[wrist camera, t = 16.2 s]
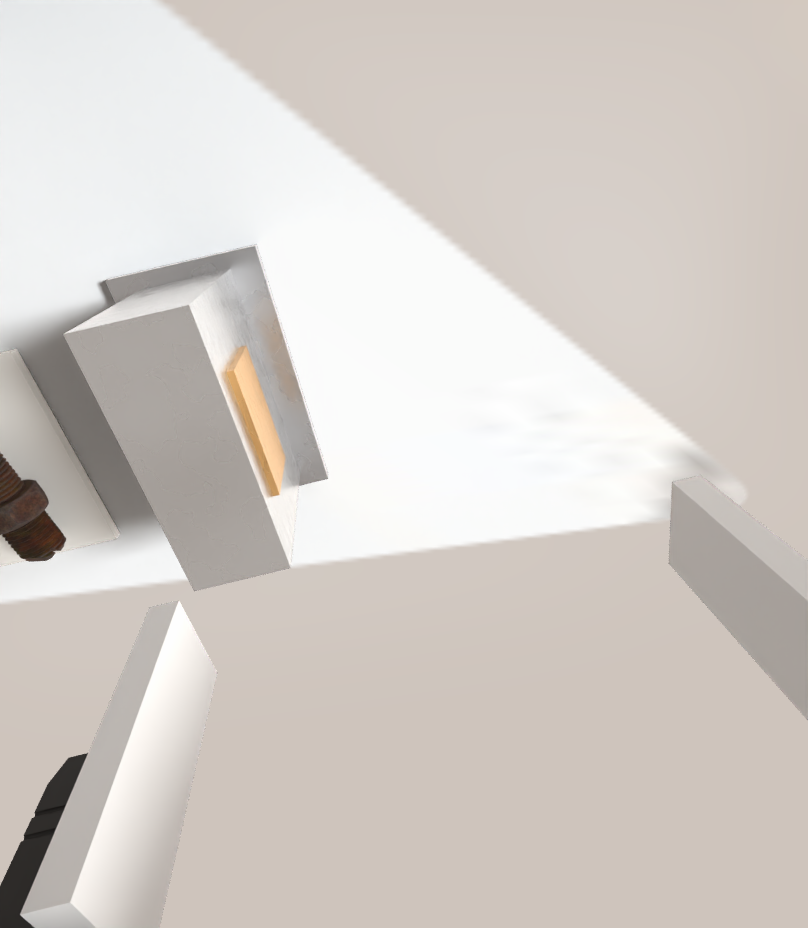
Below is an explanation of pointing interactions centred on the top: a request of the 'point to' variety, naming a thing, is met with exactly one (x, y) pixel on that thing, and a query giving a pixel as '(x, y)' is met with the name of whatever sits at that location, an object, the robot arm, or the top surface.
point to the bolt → (26, 517)
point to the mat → (47, 461)
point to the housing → (206, 410)
